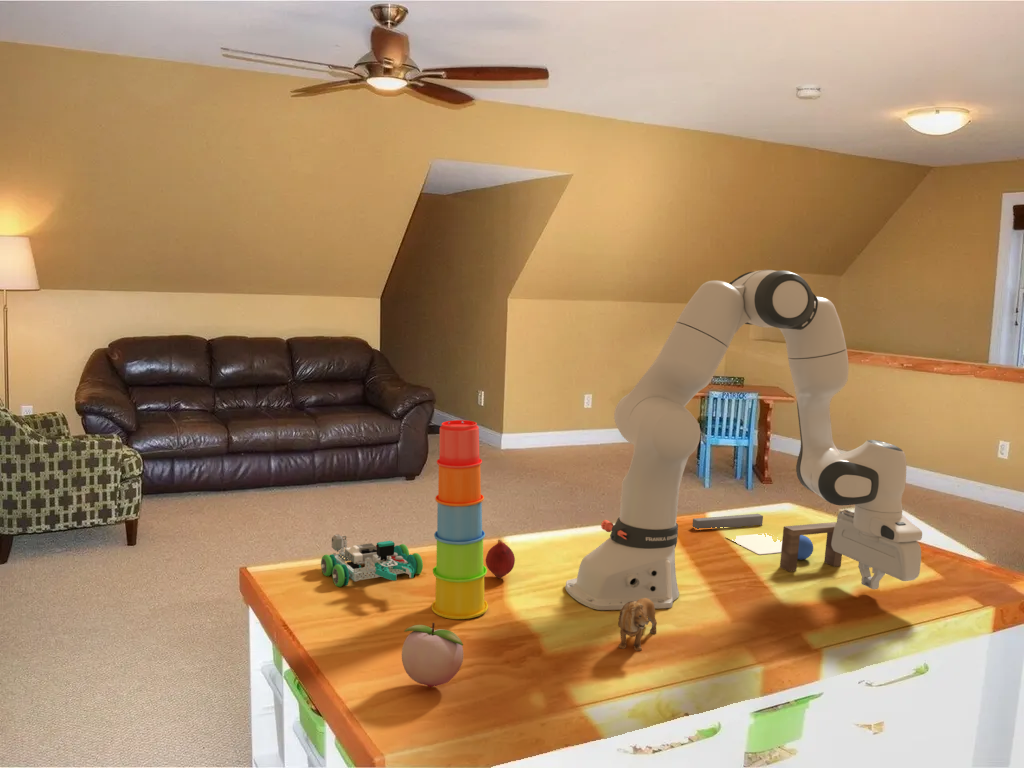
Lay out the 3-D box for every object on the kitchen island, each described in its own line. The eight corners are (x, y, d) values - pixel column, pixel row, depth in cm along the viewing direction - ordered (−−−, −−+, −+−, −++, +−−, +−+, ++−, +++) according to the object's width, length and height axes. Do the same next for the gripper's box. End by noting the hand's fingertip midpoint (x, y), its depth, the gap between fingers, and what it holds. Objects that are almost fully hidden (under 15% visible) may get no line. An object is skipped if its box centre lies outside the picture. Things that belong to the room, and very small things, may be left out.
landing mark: (759, 554, 198) (759, 554, 198) (724, 537, 210) (724, 536, 210) (804, 550, 203) (804, 549, 203) (767, 533, 215) (767, 533, 215)
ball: (795, 531, 194) (781, 537, 199) (799, 555, 192) (784, 561, 197) (816, 532, 196) (800, 538, 201) (820, 557, 194) (805, 562, 198)
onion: (515, 574, 177) (517, 536, 176) (512, 584, 172) (514, 545, 171) (486, 571, 178) (488, 534, 177) (483, 581, 172) (485, 542, 171)
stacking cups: (474, 624, 151) (484, 430, 147) (421, 613, 155) (429, 423, 150) (496, 604, 161) (505, 421, 156) (445, 594, 164) (453, 415, 160)
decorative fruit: (391, 697, 125) (393, 631, 123) (407, 671, 133) (409, 609, 131) (454, 706, 123) (457, 639, 122) (467, 679, 131) (470, 616, 130)
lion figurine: (644, 662, 140) (648, 609, 139) (612, 656, 142) (615, 603, 141) (659, 628, 154) (663, 579, 153) (629, 623, 156) (633, 575, 155)
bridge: (840, 565, 193) (845, 526, 192) (789, 571, 188) (793, 530, 186) (831, 561, 196) (835, 522, 195) (779, 566, 190) (783, 526, 189)
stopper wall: (696, 530, 214) (697, 520, 214) (692, 528, 216) (693, 518, 216) (762, 525, 222) (763, 515, 222) (757, 523, 224) (758, 513, 224)
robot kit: (361, 613, 155) (363, 562, 153) (313, 569, 175) (314, 524, 174) (453, 596, 165) (455, 549, 163) (397, 556, 185) (398, 514, 184)
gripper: (827, 507, 183) (821, 570, 184) (905, 537, 164) (897, 606, 166) (850, 506, 185) (844, 568, 187) (929, 534, 166) (921, 603, 168)
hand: (869, 586), depth 176 cm, fingers closed
